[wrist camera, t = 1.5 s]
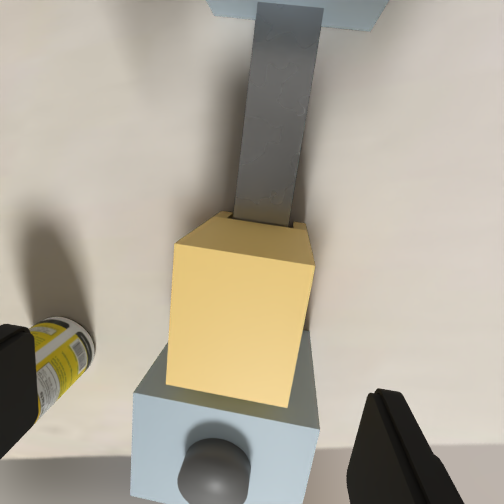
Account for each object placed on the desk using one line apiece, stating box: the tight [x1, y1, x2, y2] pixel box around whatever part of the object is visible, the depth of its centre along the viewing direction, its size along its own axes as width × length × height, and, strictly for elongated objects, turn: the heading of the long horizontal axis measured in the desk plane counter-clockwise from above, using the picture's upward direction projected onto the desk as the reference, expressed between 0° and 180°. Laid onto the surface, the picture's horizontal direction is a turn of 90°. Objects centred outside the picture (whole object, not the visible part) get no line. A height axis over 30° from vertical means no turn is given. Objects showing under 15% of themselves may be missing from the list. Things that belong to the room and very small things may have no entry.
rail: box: [233, 2, 324, 227], centre depth 18 cm, size 3×17×2 cm, turn 172°
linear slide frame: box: [130, 0, 389, 504], centre depth 14 cm, size 8×29×9 cm, turn 172°
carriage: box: [166, 211, 315, 408], centre depth 16 cm, size 5×6×8 cm
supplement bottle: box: [29, 317, 94, 424], centre depth 19 cm, size 5×5×8 cm
